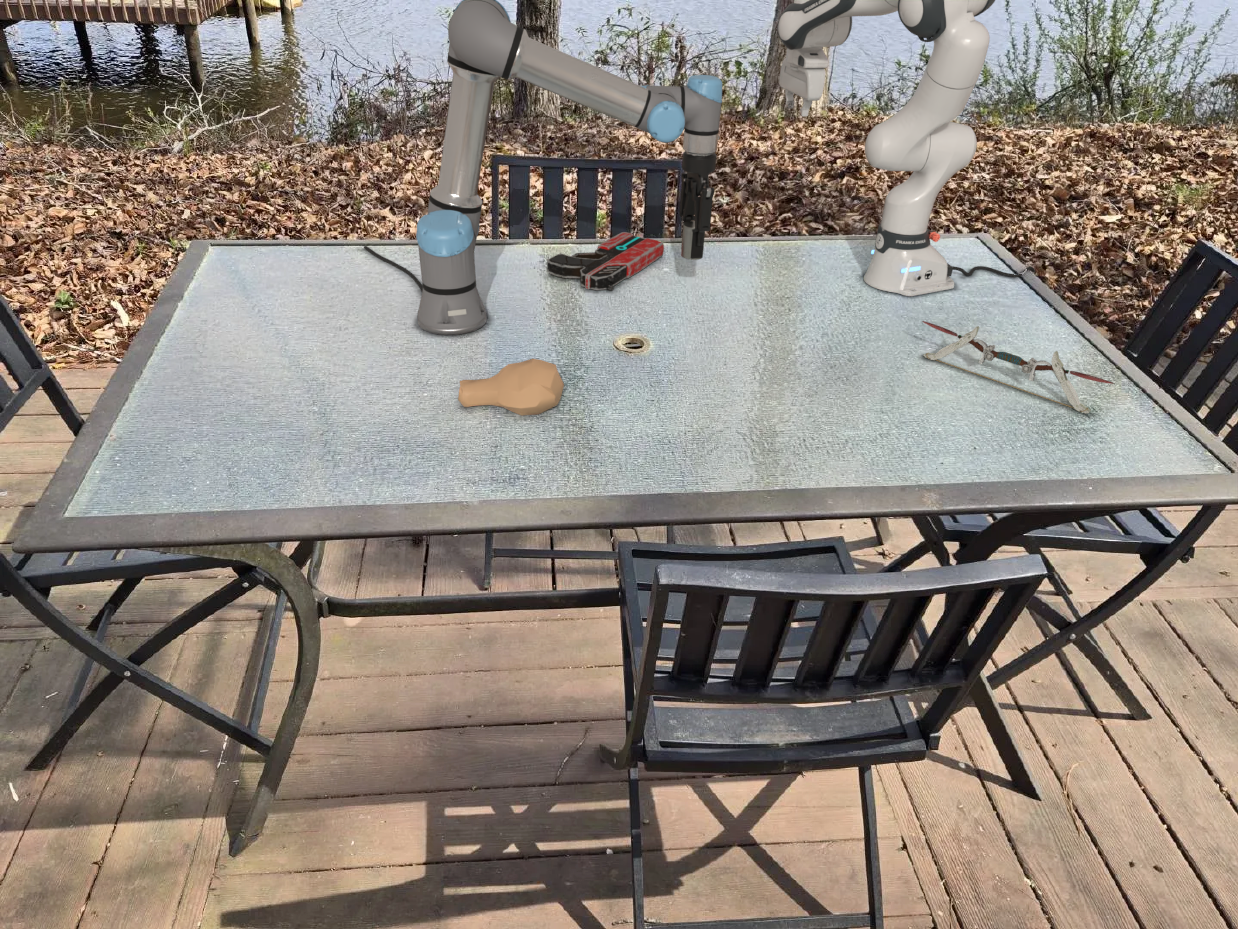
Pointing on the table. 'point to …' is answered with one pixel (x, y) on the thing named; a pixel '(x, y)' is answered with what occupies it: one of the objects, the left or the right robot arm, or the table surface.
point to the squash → (516, 388)
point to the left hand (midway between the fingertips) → (691, 253)
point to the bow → (1026, 366)
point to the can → (687, 240)
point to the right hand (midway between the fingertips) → (796, 111)
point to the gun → (608, 261)
